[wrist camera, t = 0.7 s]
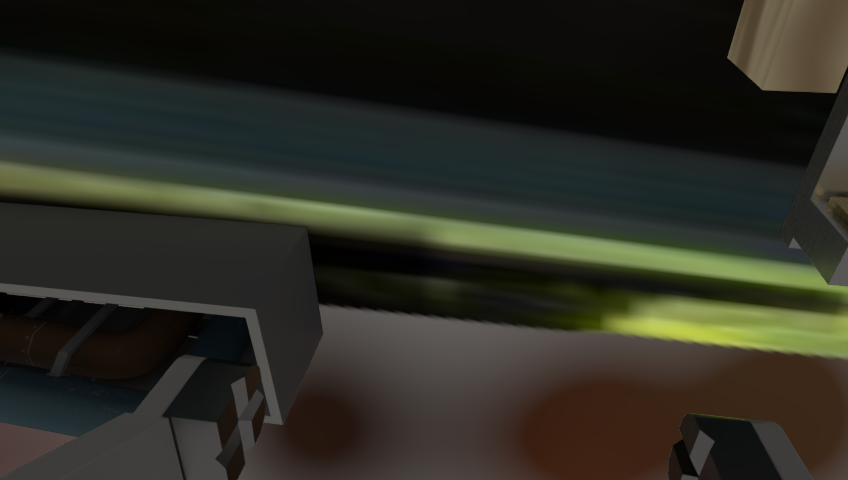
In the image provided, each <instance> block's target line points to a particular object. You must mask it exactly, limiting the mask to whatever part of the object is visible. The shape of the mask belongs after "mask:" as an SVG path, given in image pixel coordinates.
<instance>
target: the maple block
mask: <svg viewBox="0 0 848 480" xmlns="http://www.w3.org/2000/svg"><path fill="white" fill-rule="evenodd" d="M728 59H729V60H731V61H732V62H733V63H734V64H735V65H736V66H737V67H738V68H739V69H740V70H741V71H743V72H744V73H745V74H746V75H747V76H748V77H749V78H750V79H751V80H752V81H754V82H755V83H756V84H757V85H758V86H759V87H760V88H761V89H762V90H776V91H800V92H825V93H836V92H837V89H838V87H839V84H840V82H841V80H842V77H843V75H844V73H845V70H846V68H847V66H848V0H745V1H744V4H743V7H742V11H741V14H740V17H739V21H738V24H737V28H736V31H735V34H734V38H733V41H732V44H731V48H730V51H729V54H728Z"/></svg>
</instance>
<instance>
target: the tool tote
mask: <svg viewBox="0 0 848 480" xmlns="http://www.w3.org/2000/svg"><path fill="white" fill-rule="evenodd" d="M0 292H5V293H16V294H25V295H34V296H44V297H53V298H63V299H72V300H82V301H92V302H101V303H111V304H120V305H130V306H140V307H149V308H159V309H168V310H178V311H187V312H197V313H206V314H216V315H226V316H235V317H245V318H246V321H247V325H248V329H249V333H250V337H251V341H250V343H249V344H248V346H247V348H246V349H245V351H244V353H243V354H242V356H241V358H240V359H239V361H238V362H245V363H252V364H256V365H258V366H259V367H260V372H261V378H262V380H261V382H260V384H259V386H258V388H257V389H258V391H259V392H260V393H261V394H262V395H263V396H264V400H265V418H264V422H265V423H273V424H281V425H283V424H284V421H285V419H286V417H287V414H288V412H289V410H290V407H291V405H292V403H293V401H294V398H295V396H296V394H297V392H298V390H299V387H300V385H301V383H302V381H303V378H304V376H305V373H306V371H307V369H308V367H309V365H310V362H311V360H312V358H313V356H314V353H315V351H316V349H317V346H318V344H319V342H320V340H321V337H322V335H323V331H322V324H321V318H320V311H319V304H318V298H317V291H316V285H315V278H314V272H313V265H312V258H311V252H310V245H309V239H308V232H307V227H304V226H292V225H279V224H267V223H254V222H242V221H229V220H217V219H204V218H191V217H179V216H166V215H154V214H141V213H129V212H116V211H104V210H91V209H79V208H66V207H53V206H41V205H28V204H16V203H3V202H0ZM7 295H8V297H9V299H10V301H11V304H12V306H13V310H14V314H17V315H23V314H27V313H28V312H29V311H30V310H32V309H33V308H34V307H35V306H36V305H37V304H39V303H40V302H41V301H42V300H43V299H44V298H37V297H28V296H17V295H9V294H7ZM69 302H70V301H66V300H57V301H56V302H55V303H53V304H52V305H51V306H50V307H49V308H48V309H47V310H45V311H44V312H43V313H42V314H41V315H40V316H45V319H46V320H52V319H53V318H54V317H55V316H56V315H57V314H58V313H59V312H60V311H61V310H62V309H63V308H64V307H65V306H66V305H67V304H68V303H69ZM103 306H104V304H94V303H85V302H83V303H82V304H81V305H80V306H79V307H78V308H77V309H76V310H75V311H74V312H73V313H72V314H71V315H70V316H69V317H68V318H67V319H66V320H65V321H64V322H63V323H69V324H75V325H81V326H84V325H85V324H86V323H87V322H88V321H89V320H90V319H91V318H92V317H93V316H94V315H95V314H96V313H97V312H98V311H99V310H100V309H101V308H102V307H103ZM142 310H143V309H142V308H133V307H123V306H117V307H116V308H115V309H114V310H113V311H112V313H111V314H110V315H109V316H108V317H107V318H106V319H105V320H104V321H103V322H102V323H101V324H100V325H99V326H98V327H97V328H98V329H104V330H110V331H115V332H121V333H122V332H123V331H124V330H125V329H126V328H127V327H128V325H129V324H130V323H131V322H132V321H133V320H134V319H135V318H136V316H137V315H138V314H139V313H140V312H141V311H142ZM210 320H211V319H206V318H202V319H201V320H200V321H199V323H198V324H197V325H196V327H202V328H205V327H206V325H207V324H208V322H209V321H210ZM196 339H197V338H191V337H188V338H187V339H186V340H185V342H184V343H183V344H182V346H181V347H180V349H179V350H178V351H177V352H176V353H174V354H173V355H172V356H171V357H170V358H169V359H168V360H167V361H165V362H164V363H163V364H161V365H160V366H158V367H157V368H155V369H154V370H152V371H151V372H149V373H146V374H143V375H139V376H136V377H132V378H121V379H100V378H96V379H95V380H94V381H95V382H100V383H106V384H111V385H117V386H122V387H128V388H133V389H139V390H144V391H150V392H151V390H152V389H153V388H154V387H155V385H156V384H157V383H158V382H159V380H160V379H161V378H162V377H163V375H164V374H165V373H166V372H167V370H168V369H169V368H170V367H171V366H172V364H173V363H174V362H175V361H176V359H177V358H179V357H181V356H183V355H186V353H187V352H188V350H189V349H190V348H191V346H192V345H193V343H194V342H195V341H196ZM6 366H12V367H17V368H23V369H28V370H34V371H39V372H45V373H50V372H51V369H45V368H40V367H34V366H29V365H23V364H18V363H12V362H8V363H7V364H6ZM65 373H67V372H65ZM69 374H70V377H73V378H78V379H82V378H83V377H84V375H78V374H73V373H69Z"/></svg>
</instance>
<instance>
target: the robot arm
mask: <svg viewBox="0 0 848 480" xmlns="http://www.w3.org/2000/svg"><path fill="white" fill-rule="evenodd" d="M261 380H262V378H261V372H260V367H259V366H258V365H256V364H252V363H245V362H238V361H230V360H223V359H216V358H204V357H197V356H191V355H183V356H181V357H179V358H177V359H176V361H175V362H174V363H173V364H172V366H171V367H170V368H169V369H168V370H167V372H166V373H165V374H164V375H163V377H162V378H161V379H160V380H159V382H158V383H157V384H156V385H155V387H154V388H153V389H152V390H151V392H150V393H149V394H148V395H147V397H146V398H145V399H144V400H143V401H142V403H141V404H140V405H139V406H138V408H137V409H136V410H135V411H134V413H124V414H122V415H120V416H118V417H116V418H114V419H112V420H110V421H108V422H106V423H104V424H102V425H101V426H99V427H97V428H95V429H93V430H91V431H89V432H87V433H85V434H83V435H81V436H79V437H77V438H76V439H73V440H72V441H70V442H68V443H66V444H64V445H62V446H60V447H58V448H56V449H54V450H52V451H50V452H49V453H46V454H45V455H43V456H41V457H39V458H37V459H35V460H33V461H31V462H29V463H27V464H25V465H23V466H22V467H19V468H18V469H16V470H14V471H12V472H10V473H8V474H6V475H4V476H2V477H0V480H237V479H238V477H239V475H240V474H241V471H242V470H243V468H244V465H245V458H244V452H245V451H246V450H248V449H249V448H251V447H252V446H254V445H255V443H256V441H257V439H258V437H259V435H260V433H261V429H262V426H263V422H264V418H265V400H264V396H263V395H262V394H261V393H260V392H259V391H258V389H257V388H258V386H259V384H260V382H261ZM679 430H680V432H681V435H682V438H683V439H682V440H681V441H679V442H678V443H676V444H675V445H673V447H672V450H671V453H670V456H669V465H668V466H669V467H668V476H669V480H813V478H812V477H811V475H810V473H809V472H808V470H807V468H806V467H805V465H804V464H803V462H802V460H801V459H800V457H799V455H798V454H797V452H796V450H795V449H794V447H793V446H792V444H791V442H790V441H789V439H788V437H787V436H786V434H785V433H784V431H783V429H782V428H781V426H779V425H778V424H777V423H775V422H770V421H760V420H750V419H744V420H743V419H738V418H728V417H719V416H709V415H699V414H690V413H687V414H686V415H685V416H684V418H683V419H682V422H681V424H680V427H679Z"/></svg>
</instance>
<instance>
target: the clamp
mask: <svg viewBox="0 0 848 480" xmlns="http://www.w3.org/2000/svg"><path fill="white" fill-rule="evenodd" d="M58 299H59V298H53V297H46V298H44V299H43V300H42V301H41V302H40V303H39V304H37V305H36V306H35V307H34V308H33V309H32V310H30V311H29V312H28V313H27V314H23V315H17V314H14V310H13V306H12V304H11V301H10V299H9V297H8V295H7V293H5V292H0V422H2V423H8V424H13V425H18V426H24V427H29V428H34V429H39V430H45V431H50V432H55V433H61V434H65V435H71V436H76V437H79V436H81V435H83V434H85V433H87V432H89V431H91V430H93V429H95V428H97V427H99V426H101V425H102V424H104V423H106V422H108V421H110V420H112V419H114V418H116V417H118V416H120V415H122V414H124V413H134V411H135V410H136V409H137V408H138V406H139V405H140V404H141V403H142V401H143V400H144V399H145V398H146V397H147V395H148V394H149V393H150V391H144V390H139V389H133V388H128V387H122V386H117V385H111V384H106V383H100V382H95V381H94V380H95V379H96V378H100V379H121V378H132V377H136V376H139V375H143V374H146V373H149V372H151V371H152V370H154V369H155V368H157V367H158V366H160V365H161V364H163V363H164V362H165V361H167V360H168V359H169V358H170V357H171V356H172V355H173V354H174V353H176V352H177V351H178V350H179V349H180V347H181V346H182V344H183V343H184V342H185V340H186V339H187V338H188V337H191V338H197V339H196V341H195V342H194V343H193V345H192V346H191V348H190V349H189V350H188V352H187V353H186V355H191V356H197V357H204V358H216V359H223V360H230V361H239V359H240V358H241V356H242V354H243V353H244V351H245V349H246V348H247V346H248V344H249V343H250V341H251V337H250V333H249V329H248V325H247V321H246V318H245V317H235V316H226V315H216V314H206V313H197V312H187V311H178V310H168V309H159V308H149V307H144V308H143V310H142V311H141V312H140V313H139V314H138V315H137V316H136V318H135V319H134V320H133V321H132V322H131V323H130V324H129V325H128V327H127V328H126V329H125V330H124V331H123V332H122V333H121V332H115V331H110V330H104V329H98V328H97V327H98V326H99V325H100V324H101V323H102V322H103V321H104V320H105V319H106V318H107V317H108V316H109V315H110V314H111V313H112V311H113V310H114V309H115V308H116V307H117V306H118V305H119V304H111V303H106V304H105V305H104V306H103V307H102V308H101V309H100V310H99V311H98V312H97V313H96V314H95V315H94V316H93V317H92V318H91V319H90V320H89V321H88V322H87V323H86V324H85V325H84V326H81V325H75V324H69V323H63V322H64V321H65V320H66V319H67V318H68V317H69V316H70V315H71V314H72V313H73V312H74V311H75V310H76V309H77V308H78V307H79V306H80V305H81V304H82V303H83V302H84V301H82V300H72V301H70V302H69V303H68V304H67V305H66V306H65V307H64V308H63V309H62V310H61V311H60V312H59V313H58V314H57V315H56V316H55V317H54V318H53V319H52V320H46V319H45V316H40V315H41V314H42V313H43V312H44V311H45V310H47V309H48V308H49V307H50V306H51V305H52V304H53V303H55V302H56V301H57V300H58ZM202 318H206V319H211V320H210V321H209V322H208V324H207V325H206V327H205V328H202V327H196V325H197V324H198V323H199V321H200V320H201V319H202ZM8 362H12V363H18V364H23V365H29V366H34V367H40V368H45V369H51V372H50V373H45V372H39V371H34V370H28V369H23V368H17V367H12V366H6V364H7V363H8ZM65 372H67V373H65ZM69 373H73V374H78V375H84V377H83V378H82V379H78V378H73V377H70V374H69Z"/></svg>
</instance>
